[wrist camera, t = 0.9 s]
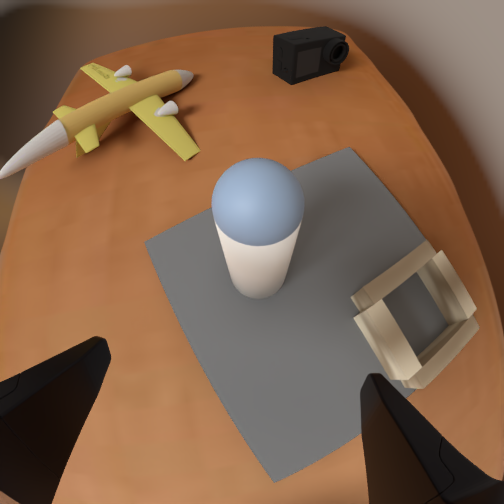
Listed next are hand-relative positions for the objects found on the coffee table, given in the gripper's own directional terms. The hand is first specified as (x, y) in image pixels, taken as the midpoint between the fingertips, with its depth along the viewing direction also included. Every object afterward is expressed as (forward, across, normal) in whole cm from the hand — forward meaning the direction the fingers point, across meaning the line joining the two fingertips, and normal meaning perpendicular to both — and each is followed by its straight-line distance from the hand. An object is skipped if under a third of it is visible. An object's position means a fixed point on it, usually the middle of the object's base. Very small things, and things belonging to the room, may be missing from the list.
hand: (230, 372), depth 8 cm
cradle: (+12, -14, +5) cm, 19 cm away
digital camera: (+38, -4, -18) cm, 42 cm away
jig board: (+14, -6, +5) cm, 16 cm away
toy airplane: (+27, +19, -8) cm, 35 cm away
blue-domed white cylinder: (+14, 0, +3) cm, 14 cm away
